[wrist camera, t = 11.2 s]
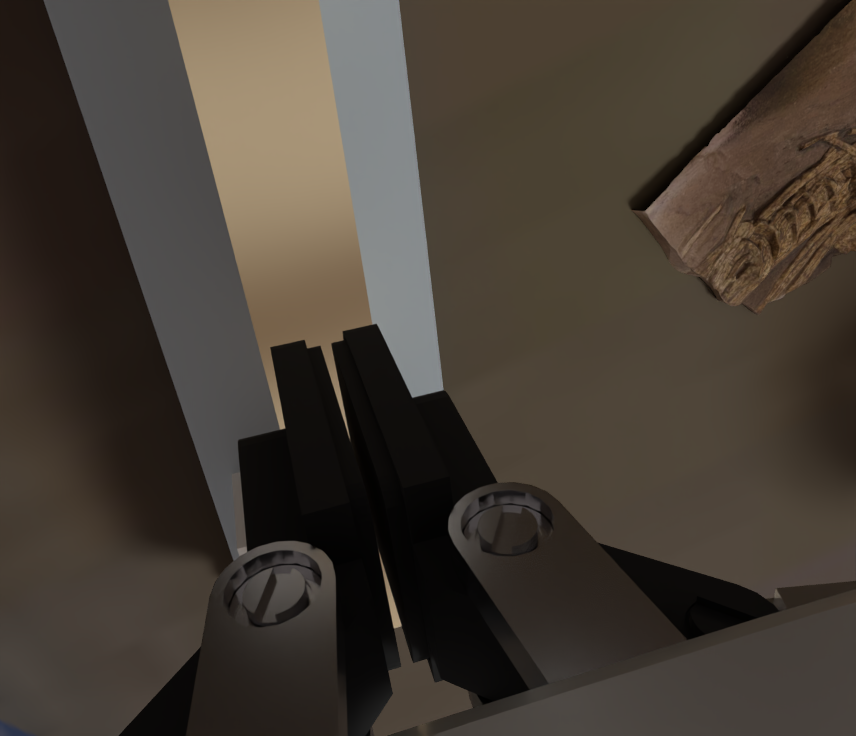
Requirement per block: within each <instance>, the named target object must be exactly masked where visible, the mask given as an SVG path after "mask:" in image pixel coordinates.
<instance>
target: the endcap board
mask: <svg viewBox="0 0 856 736" xmlns="http://www.w3.org/2000/svg"><path fill="white" fill-rule="evenodd" d="M44 3H45V6H46V9H47V12H48V15H49V18H50V21H51V24H52V27H53V30H54V33H55V36H56V38H57V41H58V44H59V47H60V50H61V53H62V56H63V59H64V62H65V65H66V68H67V71H68V74H69V77H70V80H71V83H72V86H73V89H74V92H75V95H76V97H77V100H78V103H79V106H80V109H81V112H82V115H83V118H84V121H85V124H86V127H87V130H88V133H89V136H90V139H91V142H92V145H93V148H94V151H95V153H96V156H97V159H98V162H99V165H100V168H101V171H102V174H103V177H104V180H105V183H106V186H107V189H108V192H109V195H110V198H111V201H112V204H113V207H114V210H115V212H116V215H117V218H118V221H119V224H120V227H121V230H122V233H123V236H124V239H125V242H126V245H127V248H128V251H129V254H130V257H131V260H132V263H133V266H134V268H135V271H136V274H137V277H138V280H139V283H140V286H141V289H142V292H143V295H144V298H145V301H146V304H147V307H148V310H149V313H150V316H151V319H152V322H153V325H154V327H155V330H156V333H157V336H158V339H159V342H160V345H161V348H162V351H163V354H164V357H165V360H166V363H167V366H168V369H169V372H170V375H171V378H172V381H173V383H174V386H175V389H176V392H177V395H178V398H179V401H180V404H181V407H182V410H183V413H184V416H185V419H186V422H187V425H188V428H189V431H190V434H191V437H192V440H193V442H194V445H195V448H196V451H197V454H198V457H199V460H200V463H201V466H202V469H203V472H204V475H205V478H206V481H207V484H208V487H209V490H210V493H211V496H212V498H213V501H214V504H215V507H216V510H217V513H218V516H219V519H220V522H221V525H222V528H223V531H224V534H225V537H226V540H227V543H228V546H229V549H230V552H231V555H232V557H233V560H236V559H237V558H238V557H239V556H241V555H243V554H245V553H247V545H246V533H245V522H244V511H243V499H242V488H241V477H240V465H239V454H238V440H239V439H243V438H247V437H252V436H256V435H260V434H264V433H268V432H272V431H276V430H280V427H279V423H278V419H277V416H276V412H275V408H274V404H273V400H272V396H271V393H270V389H269V385H268V381H267V377H266V373H265V370H264V366H263V362H262V358H261V354H260V350H259V347H258V343H257V339H256V335H255V331H254V327H253V324H252V320H251V316H250V312H249V308H248V304H247V301H246V297H245V293H244V289H243V285H242V282H241V278H240V274H239V270H238V266H237V262H236V259H235V255H234V251H233V247H232V243H231V239H230V236H229V232H228V228H227V224H226V220H225V216H224V213H223V209H222V205H221V201H220V197H219V193H218V190H217V186H216V182H215V178H214V174H213V170H212V167H211V163H210V159H209V155H208V151H207V147H206V144H205V140H204V136H203V132H202V128H201V124H200V121H199V117H198V113H197V109H196V105H195V102H194V98H193V94H192V90H191V86H190V82H189V79H188V75H187V71H186V67H185V63H184V59H183V56H182V52H181V48H180V44H179V40H178V36H177V33H176V29H175V25H174V21H173V17H172V13H171V10H170V6H169V2H168V0H44ZM319 5H320V11H321V17H322V23H323V29H324V35H325V41H326V47H327V53H328V59H329V66H330V72H331V78H332V84H333V90H334V96H335V102H336V108H337V114H338V120H339V126H340V132H341V138H342V144H343V150H344V156H345V162H346V168H347V174H348V180H349V186H350V192H351V198H352V204H353V210H354V216H355V222H356V228H357V234H358V240H359V246H360V252H361V258H362V265H363V271H364V277H365V283H366V289H367V295H368V301H369V307H370V313H371V319H372V325H373V324H377V325H378V327H379V329H380V331H381V333H382V335H383V337H384V339H385V341H386V344H387V346H388V348H389V350H390V352H391V354H392V356H393V358H394V360H395V362H396V365H397V367H398V369H399V371H400V373H401V375H402V377H403V379H404V381H405V383H406V385H407V388H408V390H409V392H410V394H411V396H412V398H413V397H417V396H421V395H425V394H430V393H434V392H438V391H442V390H443V383H442V374H441V365H440V356H439V348H438V339H437V330H436V322H435V313H434V304H433V295H432V287H431V278H430V269H429V260H428V252H427V243H426V234H425V225H424V217H423V208H422V199H421V191H420V182H419V173H418V164H417V156H416V147H415V138H414V129H413V121H412V112H411V103H410V95H409V86H408V77H407V68H406V60H405V51H404V42H403V33H402V25H401V16H400V7H399V0H319Z"/></svg>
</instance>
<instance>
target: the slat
mask: <svg viewBox="0 0 856 736" xmlns="http://www.w3.org/2000/svg"><path fill="white" fill-rule="evenodd" d="M168 2H169V6H170V10H171V13H172V17H173V21H174V25H175V29H176V33H177V36H178V40H179V44H180V48H181V52H182V56H183V59H184V63H185V67H186V71H187V75H188V79H189V82H190V86H191V90H192V94H193V98H194V102H195V105H196V109H197V113H198V117H199V121H200V124H201V128H202V132H203V136H204V140H205V144H206V147H207V151H208V155H209V159H210V163H211V167H212V170H213V174H214V178H215V182H216V186H217V190H218V193H219V197H220V201H221V205H222V209H223V213H224V216H225V220H226V224H227V228H228V232H229V236H230V239H231V243H232V247H233V251H234V255H235V259H236V262H237V266H238V270H239V274H240V278H241V282H242V285H243V289H244V293H245V297H246V301H247V304H248V308H249V312H250V316H251V320H252V324H253V327H254V331H255V335H256V339H257V343H258V347H259V350H260V354H261V358H262V362H263V366H264V370H265V373H266V377H267V381H268V385H269V389H270V393H271V396H272V400H273V404H274V408H275V412H276V416H277V419H278V423H279V427H280V429H285V424H284V419H283V414H282V408H281V403H280V398H279V392H278V387H277V382H276V376H275V371H274V366H273V360H272V355H271V350H270V347H273V346H278V345H282V344H287V343H291V342H296V341H300V340H305V342H306V346H307V348H311V347H316V346H321V349H322V352H323V355H324V358H325V361H326V365H327V368H328V371H329V374H330V377H331V381H332V384H333V387H334V390H335V393H336V397H337V400H338V403H339V406H340V409H341V413H342V416H343V419H344V422H345V425H346V429H347V432H348V435H349V431H348V426H347V421H346V416H345V411H344V406H343V401H342V396H341V391H340V386H339V381H338V376H337V371H336V366H335V361H334V356H333V351H332V345H331V343H333V342H338V341H342V340H343V331H346V330H350V329H355V328H359V327H364V326H368V325H372V319H371V313H370V307H369V301H368V295H367V289H366V283H365V277H364V271H363V265H362V258H361V252H360V246H359V240H358V234H357V228H356V222H355V216H354V210H353V204H352V198H351V192H350V186H349V180H348V174H347V168H346V162H345V156H344V150H343V144H342V138H341V132H340V126H339V120H338V114H337V108H336V102H335V96H334V90H333V84H332V78H331V72H330V66H329V59H328V53H327V47H326V41H325V35H324V29H323V23H322V17H321V11H320V5H319V0H168ZM349 438H350V436H349ZM378 550H379V549H378ZM379 555H380V553H379ZM380 560H381V565H382V571H383V576H384V581H385V586H386V591H387V596H388V601H389V606H390V612H391V617H392V622H393V627H394V628H397V627H400V626H402V625H401V622H400V619H399V615H398V612H397V609H396V605H395V602H394V599H393V596H392V592H391V589H390V586H389V582H388V579H387V576H386V572H385V569H384V566H383V563H382V559H381V556H380Z"/></svg>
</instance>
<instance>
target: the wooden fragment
mask: <svg viewBox="0 0 856 736" xmlns="http://www.w3.org/2000/svg"><path fill="white" fill-rule="evenodd" d="M632 211H633V212H634V213H635V214H636V215H637V216H638V217H639V218H640V219H641V220H642V222H643V223H644V224H645V226H646V227H647V228H648V229H649V231H650V232H651V233H652V235H653V236H654V238H655V239H656V240H657V241H658V243H659V244H660V246H661V247H662V249H663V251H664V252H665V254H666V256H667V258H668V260H669V262H670V263H671V265H672V266H673V267H674V268H675V269H676V270H678V271H680V272H682V273H684V274H688V275H693V276H698V277H700V278H701V279H702V280H703V281H704V282H705V283H706V284H708V286H709V287H710V288H711V289H712V290H713V292H714V294H715V296H716V298H717V300H720V301H722V302H725V303H727V304H729V305H731V306H738V305H740V304H743V305H744V306H746V307H747V308H748V309H749V310H751V311H752V312H754V313H755V314H756V315H758V314H760V313H761V311H762V310H763V308H764V307H765V306H766V304H767V303H769V302H771V301H774V300H778V299H782V298H783V297H784V295H785V294H787V293H789V292H791V291H792V290H794V289H796V288H798V287H800V286H801V285H804V284H807V283H809V282H810V281H812V280H813V279H815V278H816V277H818V276H819V275H821V274H822V273H823V272H825V271H826V270H827V269H828V268H829V267H830V266H831V262H832V257H833V256H836V255H839V254H847V253H848V252H849V251H851V250H852V251H856V0H852V1H851V2H850V3H849V4H847V5H846V6H845V7H844V8H843V9H842V10H841V11H840V12H839V13H838V14H837V15H836V16H835V17H834V18H833V19H832V20H831V21H830V22H829V23H828V24H827V25H826V26H825V27H824V28H823V30H822V31H821V32H820V34H819V35H816V36H815V37H814V38H813V39H812V40H811V41H810V43H809V44H808V45H807V46H806V47H805V48H804V49H803V50H801V51H800V52H799V53H798V54H797V55H796V56H795V57H794V58H793V59H792V61H791V62H790V63H789V64H788V65H787V66H786V67H785V68H784V69H783V70H782V71H781V72H780V73H779V74H777V75H776V76H775V77H774V78H773V79H772V80H771V81H770V82H769V83H768V84H767V85H766V86H765V87H764V88H763V89H762V90H761V92H759V93H758V94H757V95H756V96H755V97H754V98H753V99H752V100H751V101H750V102H749V103H748V105H747V106H746V107H745V108H744V109H743V110H742V111H741V112H740V113H738V114H737V115H736V116H735V117H734V118H733V119H732V120H731V121H730V122H729V123H728V124H727V126H726V127H725V128H723V129H722V130H721V132H720V133H717V134H716V135H715V136H714V137H713V138H712V140H711V141H710V143H709V145H708V146H707V147H704V148H703V149H702V151H700V152H699V153H698V154H697V155H696V156H695V157H694V158H693V159H692V160H691V162H690V163H689V164H688V165H687V166H686V167H685V168H684V169H683V171H682V172H681V173H680V174H679V175H678V176H677V177H676V178H675V179H674V180H673V181H672V183H671V184H670V185H669V187H668V188H667V189H666V191H664V192H663V193H662V194H661V195H660V196H659V197H658V198H657V199H656V200H655V201H654V202H653V204H652V205H651V206H650V207H649V208H648V209H646V210H645V211H636V210H632Z"/></svg>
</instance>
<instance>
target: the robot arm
mask: <svg viewBox="0 0 856 736" xmlns="http://www.w3.org/2000/svg"><path fill="white" fill-rule="evenodd" d="M331 345H332V351H333V356H334V361H335V366H336V371H337V376H338V381H339V386H340V391H341V396H342V401H343V406H344V411H345V416H346V421H347V426H348V431H349V435H348V432H347V429H346V425H345V422H344V419H343V416H342V413H341V409H340V406H339V403H338V400H337V397H336V393H335V390H334V387H333V384H332V381H331V377H330V374H329V371H328V368H327V365H326V361H325V358H324V355H323V352H322V349H321V346H316V347H311V348H307V346H306V342H305V340H300V341H296V342H291V343H287V344H282V345H278V346H273V347H270V350H271V355H272V360H273V366H274V371H275V376H276V382H277V387H278V392H279V398H280V403H281V408H282V414H283V419H284V424H285V429H280V430H276V431H272V432H268V433H264V434H260V435H256V436H252V437H247V438H243V439H239V440H238V454H239V465H240V477H241V488H242V499H243V511H244V522H245V533H246V545H247V553H245V554H243V555H241V556H239V557H238V558H237V559H236V560H234V561H233V562H232V563H231V564H230V565H228V566H227V567H226V568H225V569H224V571H223V572H222V573H221V575H220V576H219V577H218V578H217V580H216V581H215V583H214V586H213V589H212V592H211V594H210V597H209V603H208V609H207V615H206V621H205V626H204V632H203V638H202V644H201V647H200V648H199V649H198V650H197V651H196V653H195V654H194V655H193V656H192V657H191V658H190V659H189V660H188V661H187V662H186V663H185V664H184V666H183V667H182V668H181V669H180V670H179V671H178V672H177V673H176V674H175V675H174V676H173V677H172V679H171V680H170V681H169V682H168V683H167V684H166V685H165V686H164V687H163V688H162V689H161V690H160V691H159V693H158V694H157V695H156V696H155V697H154V698H153V699H152V700H151V701H150V702H149V703H148V704H147V706H146V707H145V708H144V709H143V710H142V711H141V712H140V713H139V714H138V715H137V716H136V717H135V719H134V720H133V721H132V722H131V723H130V724H129V725H128V726H127V727H126V728H125V729H124V730H123V731H122V733H121V734H120V735H119V736H374V732H373V728H372V725H373V723H374V722H375V720H376V719H377V717H378V716H379V714H380V713H381V711H382V710H383V708H384V706H385V705H386V703H387V702H388V700H389V699H390V697H391V696H392V694H393V692H392V688H391V683H390V678H389V673H388V671H389V670H392V669H395V668H398V667H401V663H400V658H399V652H398V647H397V642H396V637H395V632H394V627H393V622H392V617H391V612H390V606H389V601H388V596H387V591H386V586H385V581H384V576H383V571H382V565H381V560H380V556H381V559H382V563H383V566H384V569H385V572H386V576H387V579H388V582H389V586H390V589H391V592H392V596H393V599H394V602H395V605H396V609H397V612H398V615H399V619H400V622H401V625H402V629H403V632H404V635H405V638H406V642H407V645H408V648H409V652H410V655H411V658H412V661H413V663H415V662H418V661H421V660H425V659H427V660H428V663H429V666H430V669H431V672H432V675H433V678H434V681H435V682H439V681H442V680H445V681H447V682H450V683H452V684H454V685H456V686H459V687H461V688H463V689H466V690H468V693H469V698H470V701H471V704H472V707H473V708H472V709H469V710H466V711H463V712H460V713H457V714H453V715H450V716H447V717H444V718H441V719H438V720H435V721H432V722H428V723H425V724H422V725H419V726H416V727H413V728H410V729H407V730H404V731H400V732H397V733H394V734H391V735H388V736H856V581H850V582H840V583H829V584H818V585H807V586H796V587H785V588H776V591H775V596H774V598H769V599H765V598H764V597H762V596H761V595H759V594H758V593H756V592H754V591H751V590H749V589H747V588H744V587H742V586H739V585H737V584H734V583H730V582H727V581H724V580H720V579H717V578H714V577H710V576H707V575H704V574H700V573H697V572H694V571H690V570H687V569H684V568H680V567H677V566H674V565H670V564H667V563H664V562H660V561H657V560H654V559H650V558H647V557H644V556H640V555H637V554H634V553H630V552H627V551H624V550H620V549H617V548H614V547H610V546H607V545H604V544H600V543H597V542H596V541H595V540H594V538H593V537H592V536H591V535H590V534H589V533H588V532H587V531H586V530H585V529H584V528H583V527H582V526H581V524H580V523H579V522H578V521H577V520H576V519H575V518H574V517H573V516H572V515H571V514H570V513H569V511H568V510H567V509H566V508H565V507H564V506H563V505H562V504H561V503H560V502H559V501H558V500H557V499H556V498H554V497H553V496H552V495H551V494H549V493H548V492H547V491H545V490H542V489H540V488H537V487H535V486H532V485H528V484H522V483H516V482H507V483H497V481H496V479H495V477H494V475H493V474H492V472H491V470H490V468H489V466H488V465H487V463H486V461H485V459H484V457H483V456H482V454H481V452H480V450H479V449H478V447H477V445H476V443H475V441H474V440H473V438H472V436H471V434H470V432H469V431H468V429H467V427H466V425H465V423H464V422H463V420H462V418H461V416H460V415H459V413H458V411H457V409H456V407H455V406H454V404H453V402H452V400H451V398H450V397H449V395H448V394H447V392H446V391H444V390H442V391H438V392H434V393H430V394H425V395H421V396H417V397H413V398H412V396H411V394H410V392H409V390H408V388H407V385H406V383H405V381H404V379H403V377H402V375H401V373H400V371H399V369H398V367H397V365H396V362H395V360H394V358H393V356H392V354H391V352H390V350H389V348H388V346H387V344H386V341H385V339H384V337H383V335H382V333H381V331H380V329H379V327H378V325H377V324H373V325H368V326H364V327H359V328H355V329H350V330H346V331H343V340H342V341H338V342H333V343H331ZM349 436H350V438H349ZM378 549H379V550H378ZM379 553H380V555H379Z"/></svg>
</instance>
